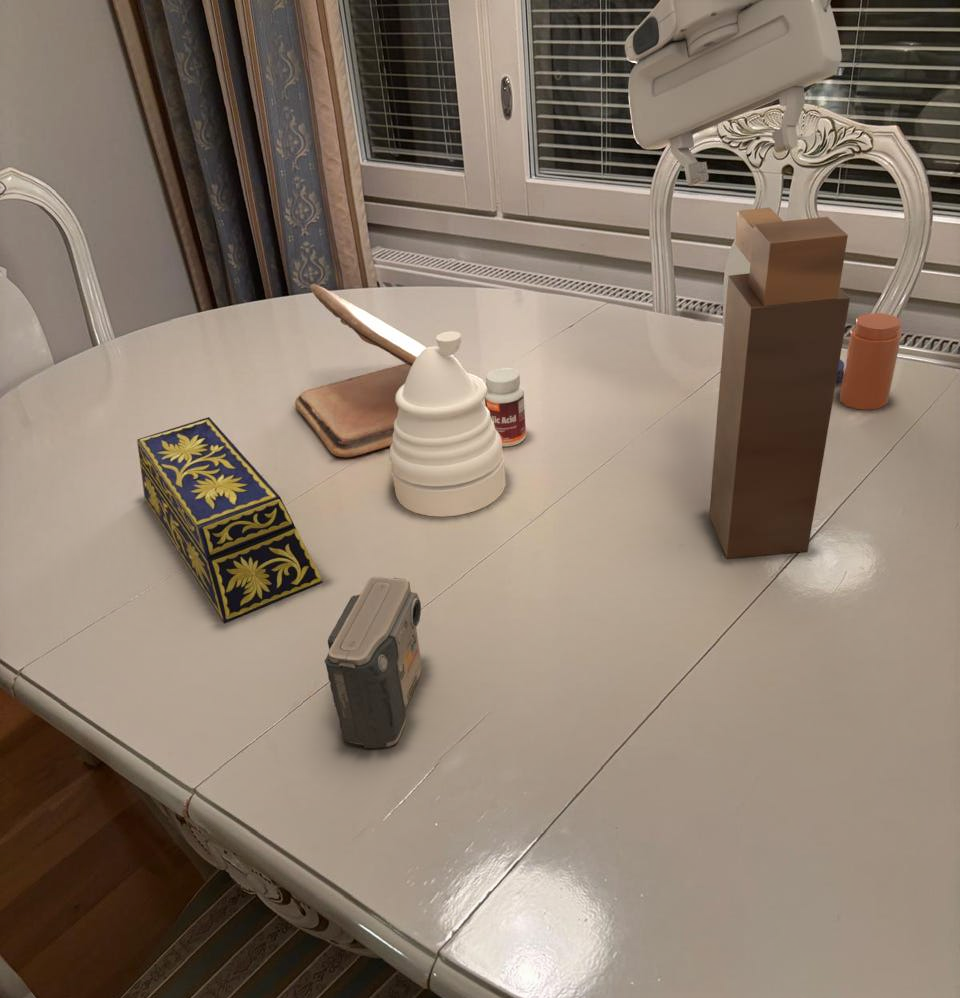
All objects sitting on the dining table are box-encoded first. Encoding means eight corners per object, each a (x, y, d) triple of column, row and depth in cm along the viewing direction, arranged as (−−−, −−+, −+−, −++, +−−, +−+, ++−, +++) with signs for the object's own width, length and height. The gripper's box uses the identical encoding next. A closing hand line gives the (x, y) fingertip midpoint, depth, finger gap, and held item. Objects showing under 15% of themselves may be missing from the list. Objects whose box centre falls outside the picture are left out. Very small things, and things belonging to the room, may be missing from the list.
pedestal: (708, 515, 97) (728, 275, 81) (785, 508, 96) (819, 265, 80) (726, 559, 90) (751, 307, 74) (808, 551, 90) (850, 297, 74)
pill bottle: (484, 447, 113) (478, 382, 107) (493, 428, 116) (487, 365, 111) (522, 448, 112) (517, 383, 106) (529, 429, 115) (526, 366, 110)
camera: (395, 756, 74) (374, 664, 68) (330, 746, 76) (304, 655, 69) (437, 663, 82) (423, 574, 76) (378, 656, 84) (359, 568, 78)
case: (490, 419, 118) (479, 294, 108) (338, 465, 112) (310, 338, 102) (429, 366, 133) (414, 252, 123) (291, 404, 127) (263, 288, 117)
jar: (896, 397, 113) (913, 317, 106) (872, 414, 110) (888, 333, 104) (854, 385, 116) (868, 308, 110) (830, 401, 113) (843, 323, 107)
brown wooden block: (718, 245, 87) (722, 189, 84) (782, 239, 86) (789, 182, 83) (763, 306, 74) (770, 242, 71) (838, 299, 74) (848, 234, 71)
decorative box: (224, 623, 90) (198, 547, 84) (144, 498, 111) (119, 431, 105) (324, 582, 94) (305, 507, 88) (229, 469, 114) (208, 403, 109)
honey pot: (520, 464, 109) (509, 314, 97) (483, 522, 100) (467, 364, 88) (421, 454, 113) (399, 309, 101) (377, 509, 104) (348, 357, 92)
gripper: (843, -48, 78) (862, 127, 82) (647, 54, 93) (670, 198, 97) (809, -58, 74) (830, 127, 78) (610, 50, 89) (636, 201, 93)
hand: (740, 167), depth 87 cm, fingers open, 8 cm apart
